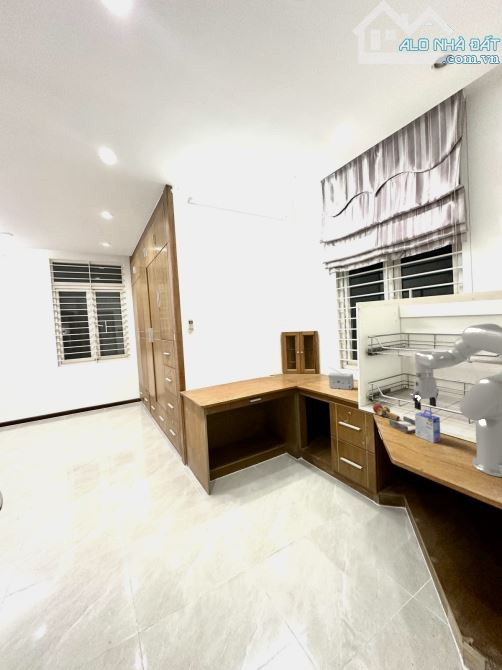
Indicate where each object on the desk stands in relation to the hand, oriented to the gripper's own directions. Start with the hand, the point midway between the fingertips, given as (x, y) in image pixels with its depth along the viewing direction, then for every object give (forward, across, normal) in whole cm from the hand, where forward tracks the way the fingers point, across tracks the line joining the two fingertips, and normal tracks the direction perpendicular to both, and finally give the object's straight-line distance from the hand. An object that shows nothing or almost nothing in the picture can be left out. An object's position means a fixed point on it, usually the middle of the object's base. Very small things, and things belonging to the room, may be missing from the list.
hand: (425, 407), depth 133 cm
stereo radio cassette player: (+19, +15, +99) cm, 102 cm away
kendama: (+17, +3, +32) cm, 36 cm away
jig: (+16, 0, +13) cm, 21 cm away
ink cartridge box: (+16, 0, -1) cm, 16 cm away
